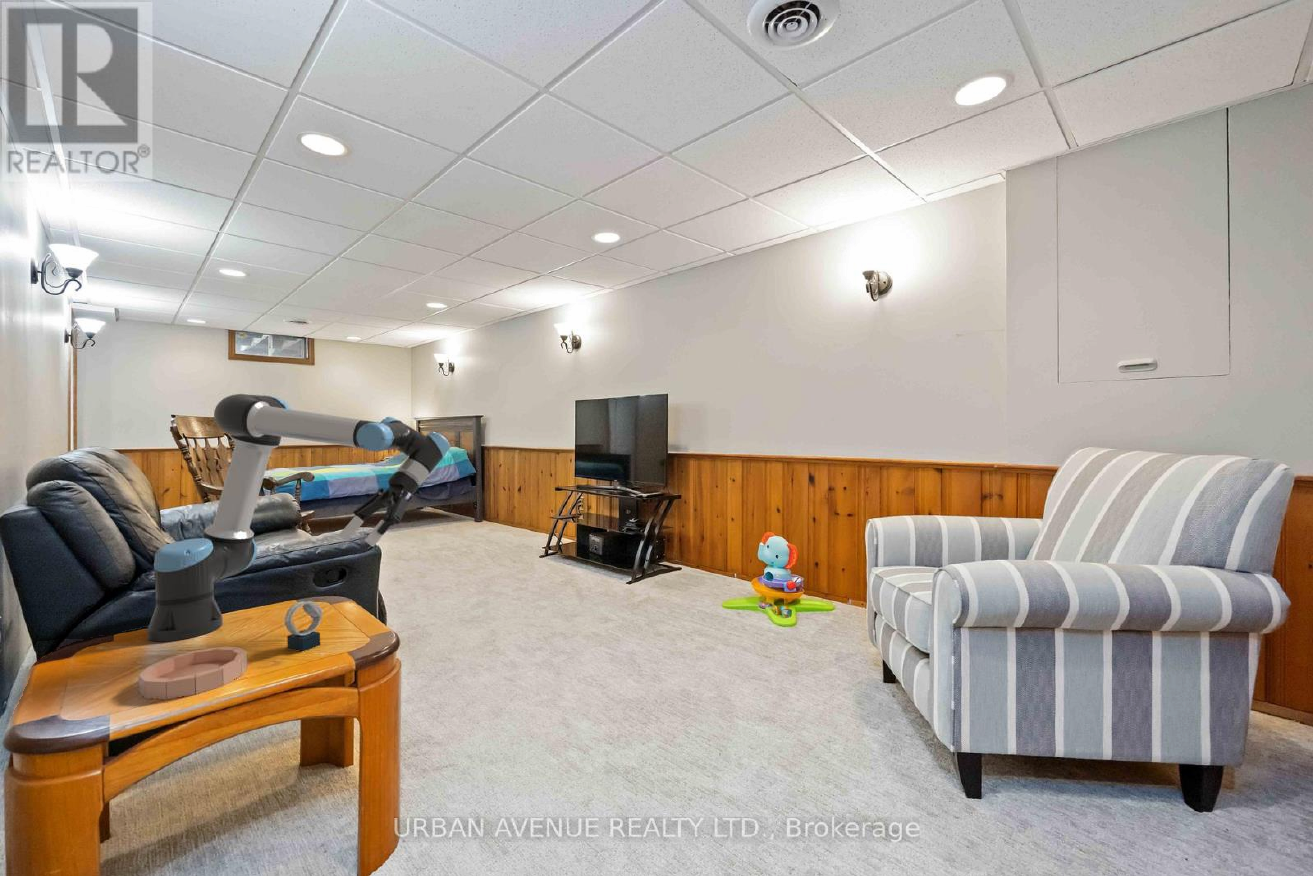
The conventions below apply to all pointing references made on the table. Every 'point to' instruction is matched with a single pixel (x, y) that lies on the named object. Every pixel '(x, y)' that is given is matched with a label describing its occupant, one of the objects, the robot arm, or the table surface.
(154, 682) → the dish
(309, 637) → the watch
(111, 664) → the table surface
